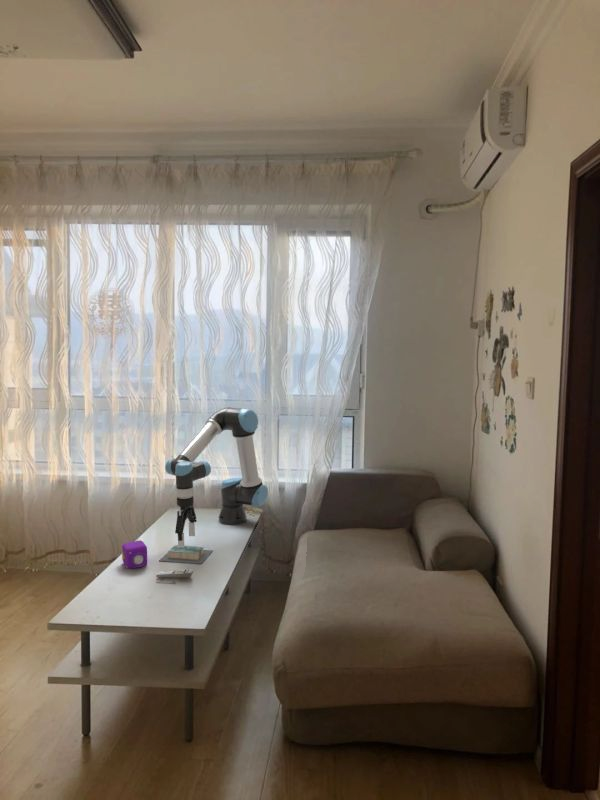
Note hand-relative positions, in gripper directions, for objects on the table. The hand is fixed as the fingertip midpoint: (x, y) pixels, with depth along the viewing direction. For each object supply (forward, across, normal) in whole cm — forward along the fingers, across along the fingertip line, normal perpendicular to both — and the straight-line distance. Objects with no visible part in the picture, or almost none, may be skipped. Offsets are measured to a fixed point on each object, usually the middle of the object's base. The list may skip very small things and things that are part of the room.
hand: (186, 541), depth 267 cm
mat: (+7, +1, 0) cm, 7 cm away
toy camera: (+7, +15, -18) cm, 24 cm away
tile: (+5, +1, -7) cm, 9 cm away
